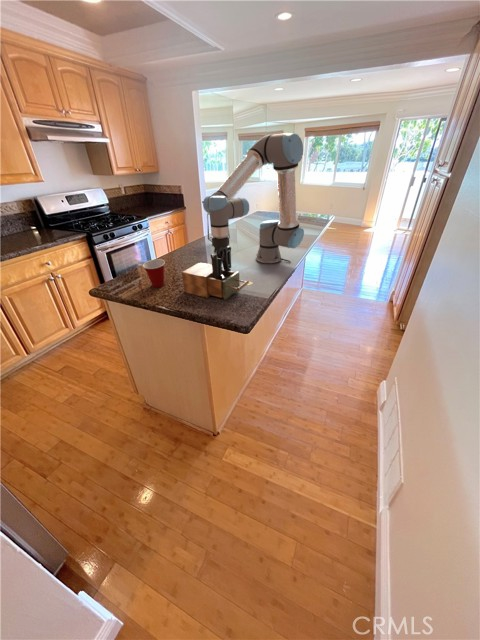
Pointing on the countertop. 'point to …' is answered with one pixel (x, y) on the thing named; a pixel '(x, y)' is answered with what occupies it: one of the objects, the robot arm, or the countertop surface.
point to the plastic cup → (155, 271)
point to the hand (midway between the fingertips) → (223, 286)
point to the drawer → (224, 285)
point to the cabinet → (197, 279)
